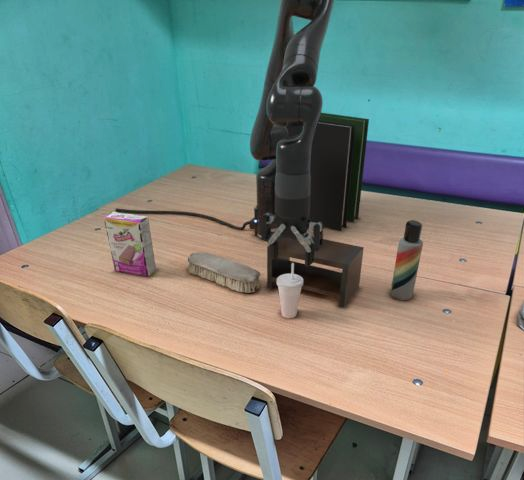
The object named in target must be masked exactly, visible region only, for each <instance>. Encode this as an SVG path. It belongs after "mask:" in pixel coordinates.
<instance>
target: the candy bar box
mask: <svg viewBox="0 0 524 480" xmlns="http://www.w3.org/2000/svg"><path fill="white" fill-rule="evenodd" d="M103 221H104V226H105V231H106V236H107V239H108V240H107V241H108V244H109V250H110V254H111V258H112V259H111V260H112V263H113V269H114V272H116V273H121V274H126V275H127V274H128V275H134V276H138V277H139V276H140V277H146V278H149V277H151V275H153V274H154V273H155V272H156V271H157V265H156V260H155V253H154V246H153V241H152V240H153V239H152V233H151V227H150V221H149V216H146V215H139V214H134V213H127V212H120V211H112V212H110V213H108V214H107V215H105V216H104V217H103Z"/></svg>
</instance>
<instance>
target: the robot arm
mask: <svg viewBox="0 0 524 480" xmlns="http://www.w3.org/2000/svg"><path fill="white" fill-rule="evenodd" d="M279 3H280V4H279V10H278V15H277V16H278V17H277V22H276V29H275V34H274V40H273V43H272V48H271V52H270V56H269V60H268V63H267V68H266V73H265V78H264V82H263V87H262V88H263V89H262V94H261V99H260V103H259V107H258V110H257V113H256V116H255V120H254V123H253V126H252V129H251V133H250V137H249V151H250V155H251V157H252V158H253V159H254V160H255V161H260V162H266V161H270V162H269V164H268V165H266V166H265V167H263V168H261V169H260V170H258V171H257V172H256V174H255V175H256V176H255V180H256V182H255V183H256V187H255V188H256V205H255V206H254V208H253V211H254V212H253V214H254V215H253V216H254V217H253V218H251V219H250V220H248V221H245V222H244V223H243V224H242V226H235V225H234V224H231V223H229V222H226V221H224V220H221V219H219V218H216V217H214V216H212V215H211V216H210V215H207V214H203V213H198V212H191V211H181V210H179V211H177V210H143V209H142V210H141V209H140V210H139V209H138V210H137V209H125V208H117V207H116V208H115V212H119V213H129V214H161V215H162V214H167V215H184V216H185V215H186V216H194V217H198V218H199V217H200V218H204V219H208V220H211V221H214V222H216V223H219V224H221V225H223V226H227V227H229V228H231V229H233V230H238V231H243V230H245V228H246V227H247V226H248V225H249V230H254V236H255V237H257V238H259V239H260V240H262V241H266V242H267V243H268V246H269V254H270V256H271V259H274V260H275V259H276V258H277V257H278V242H277V239H278V238H279V237H280V236H281V235H283V236H284V237H285V238H292V239H295V240H296V239H298V240H299V242H300V244H302V245H303V246H304V248H305V249H306V252H305V261H304V264H305V266H306V267H309V266H310V265H311V266H312V264H314V263H313V261H314V251H318V250H319V249H320V248H321V247H322V246H323V239H324V227H323V222H322V221H319V222H318V223H315V222H310V219H309V213H310V192H311V176H310V163H311V148H312V142H313V137H314V133H315V130H316V127H317V124H318V121H319V117H320V114H321V113H322V111H323V107H324V106H323V104H324V100H323V99H324V98H323V96H322V93H321V91H320V89H319V88H318V87H316V86H315V85H316V83H317V78H318V73H319V72H318V71H319V65H320V56H321V51H322V47H323V43H324V40H325V37H326V35H327V30H328V27H329V23H330V20H331V16H332V12H333V8H334V3H335V0H280V2H279ZM293 17H296V18H300V19H302V20H306V21H310V22H309V23H307V24H306V25H305V26H303V27H302V28H300V30H298V31H296V33H295V31H294V22H293ZM285 126H296V127H300V126H301V127H303V130H302V132H301V133H300V134H299V135H297V136H294V137H289V133H288V130H287V128H286V127H285ZM309 229H310V230H311V233H310V232H309ZM311 234H313V237H314V242H313V241H312V239H311V237H312V235H311ZM303 235H304V237H303Z"/></svg>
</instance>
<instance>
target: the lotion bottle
mask: <svg viewBox="0 0 524 480" xmlns="http://www.w3.org/2000/svg"><path fill="white" fill-rule="evenodd" d="M422 229H423V224H422V223H421V222H420V221H417V220H415V219H411V220H408V221H406V223H405V227H404V233H403V237H401V238H399V241H398V243H397V244H398V245H397V251H396V256H395V263H394V267H393V268H394V269H393V273H392V274H393V275H392V281H391V288H390V295H391V297H393V298H394V299H395V300H400V301H406V300H410V299H411V298H413V295H414V291H415V286H416V281H417V275H418V270H419V265H420V261H421V256H422V250H423V245H424V241H423V240H422V239H421V234H422Z"/></svg>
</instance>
